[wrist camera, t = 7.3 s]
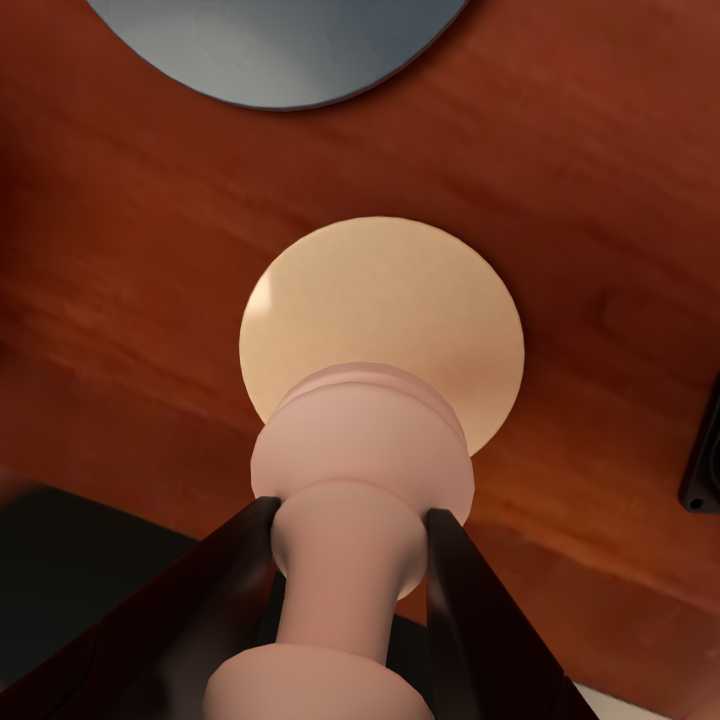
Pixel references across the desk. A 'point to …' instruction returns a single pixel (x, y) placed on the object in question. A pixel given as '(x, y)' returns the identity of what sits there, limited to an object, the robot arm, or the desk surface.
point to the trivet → (387, 317)
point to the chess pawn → (346, 542)
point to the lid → (279, 45)
